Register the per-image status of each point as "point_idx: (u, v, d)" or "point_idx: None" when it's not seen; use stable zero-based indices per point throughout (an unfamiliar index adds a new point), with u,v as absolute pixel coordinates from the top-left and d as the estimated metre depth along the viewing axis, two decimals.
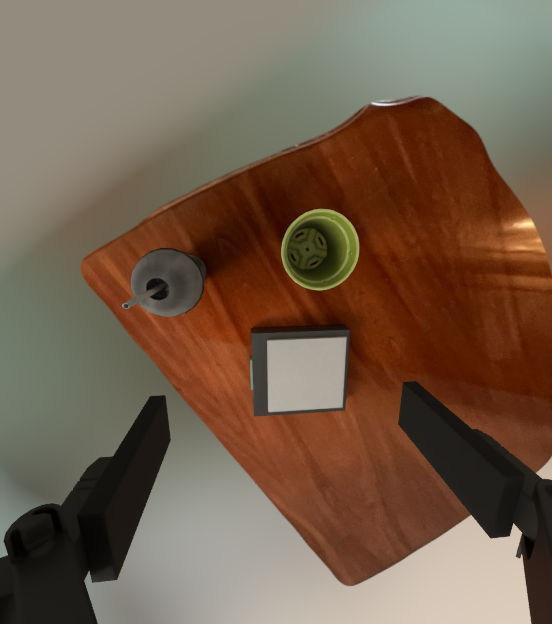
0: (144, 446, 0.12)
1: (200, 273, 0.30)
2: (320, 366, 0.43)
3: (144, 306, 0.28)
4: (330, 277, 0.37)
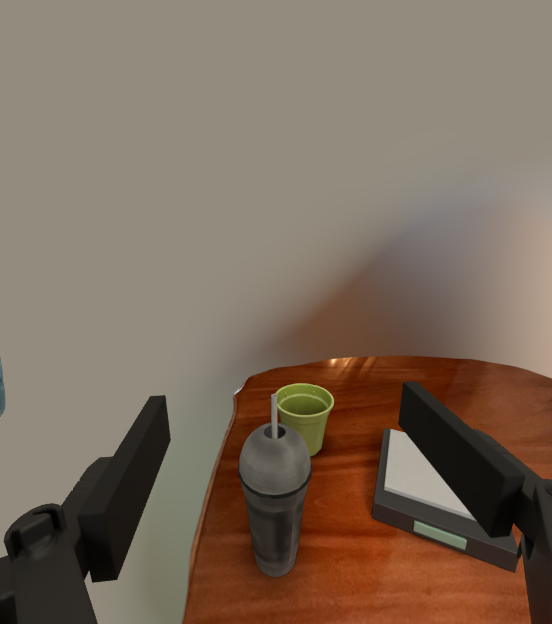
0: (144, 446, 0.12)
1: None
2: None
3: (285, 459, 0.25)
4: (327, 408, 0.46)
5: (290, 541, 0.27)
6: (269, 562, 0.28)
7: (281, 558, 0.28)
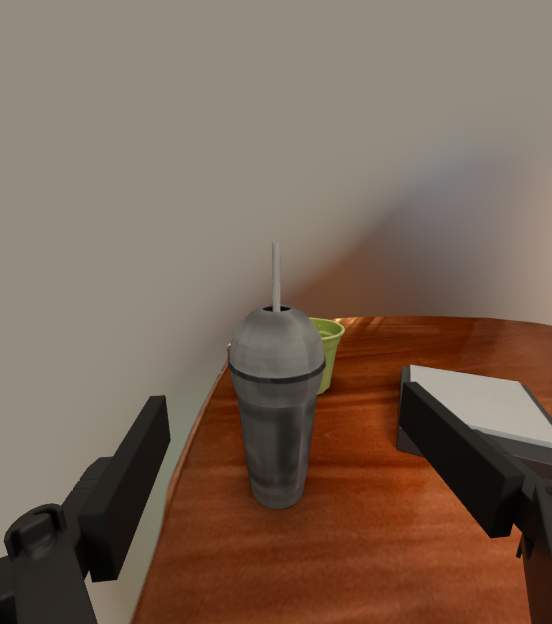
0: (144, 446, 0.12)
1: None
2: (452, 384, 0.34)
3: (291, 332, 0.18)
4: None
5: (297, 457, 0.21)
6: (270, 487, 0.21)
7: (286, 482, 0.21)
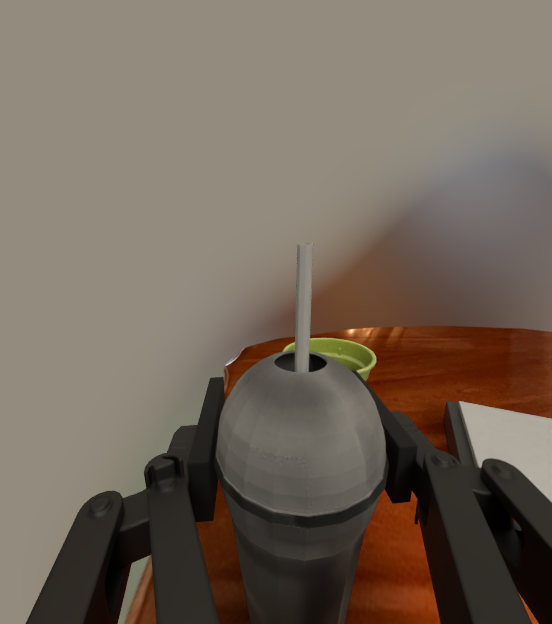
0: (218, 417, 0.14)
1: None
2: (525, 434, 0.25)
3: (334, 419, 0.09)
4: None
5: (336, 619, 0.12)
6: None
7: None
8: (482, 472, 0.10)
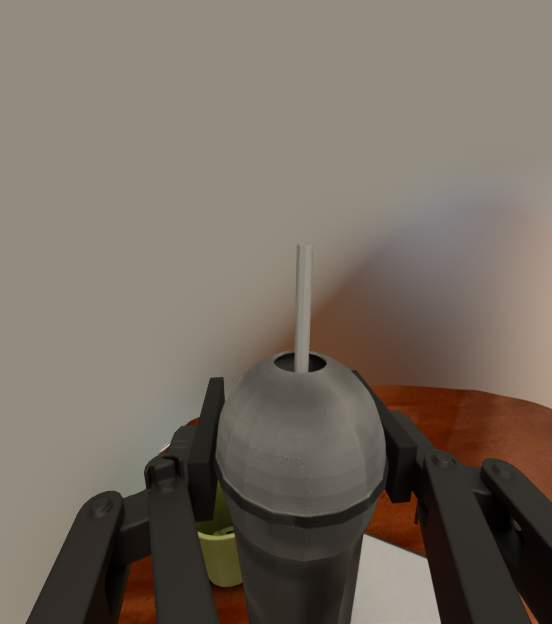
0: (218, 417, 0.14)
1: None
2: (411, 595, 0.25)
3: (334, 420, 0.09)
4: None
5: (336, 620, 0.12)
6: None
7: None
8: (482, 472, 0.10)
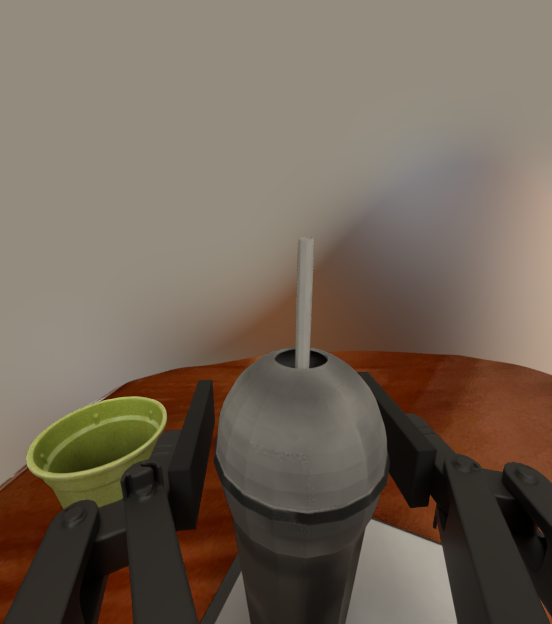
0: (204, 421, 0.13)
1: None
2: None
3: (335, 415, 0.09)
4: None
5: (337, 617, 0.12)
6: None
7: None
8: (504, 476, 0.10)
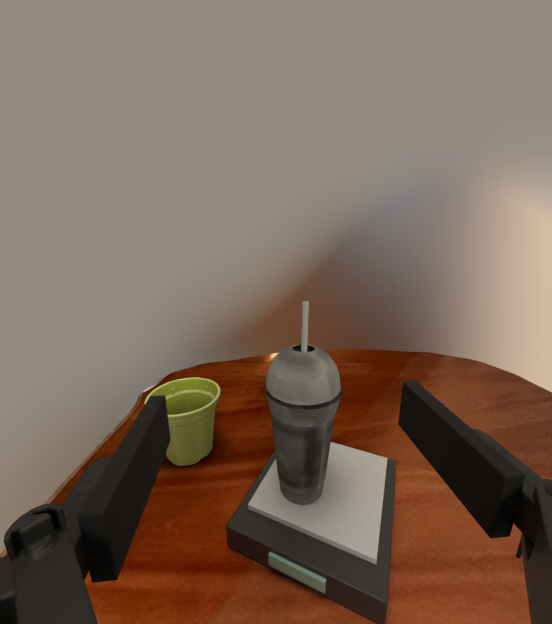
0: (144, 446, 0.12)
1: None
2: None
3: (317, 370, 0.24)
4: (215, 406, 0.38)
5: (319, 464, 0.26)
6: (297, 487, 0.27)
7: (310, 483, 0.27)
8: None
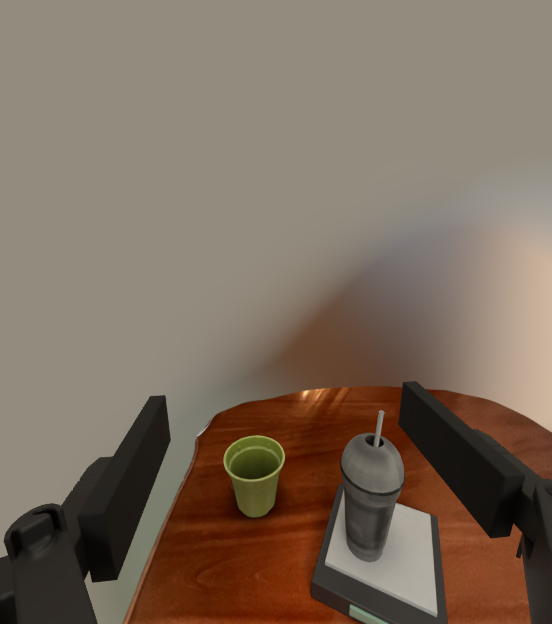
0: (144, 446, 0.12)
1: None
2: None
3: (389, 464, 0.31)
4: (279, 465, 0.45)
5: (385, 531, 0.33)
6: (367, 549, 0.34)
7: (377, 546, 0.33)
8: None
